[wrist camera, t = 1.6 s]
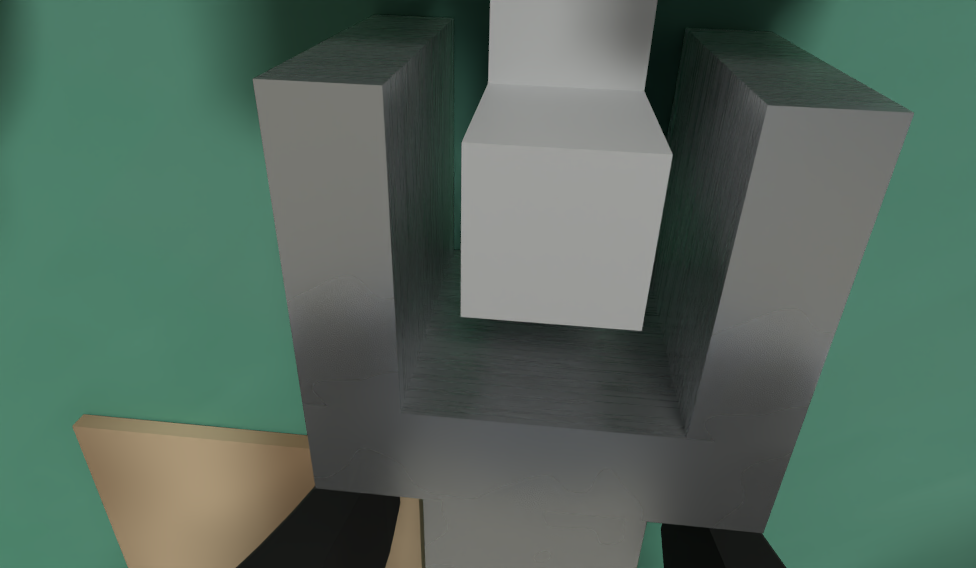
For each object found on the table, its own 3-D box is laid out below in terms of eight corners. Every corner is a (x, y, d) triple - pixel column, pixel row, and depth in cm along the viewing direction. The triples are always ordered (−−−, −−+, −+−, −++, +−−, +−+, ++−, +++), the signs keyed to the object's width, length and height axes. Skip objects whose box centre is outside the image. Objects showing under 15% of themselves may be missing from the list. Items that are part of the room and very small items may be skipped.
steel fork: (771, 31, 10) (913, 112, 6) (634, 620, 17) (655, 833, 13) (373, 14, 10) (252, 79, 6) (407, 595, 17) (362, 794, 13)
